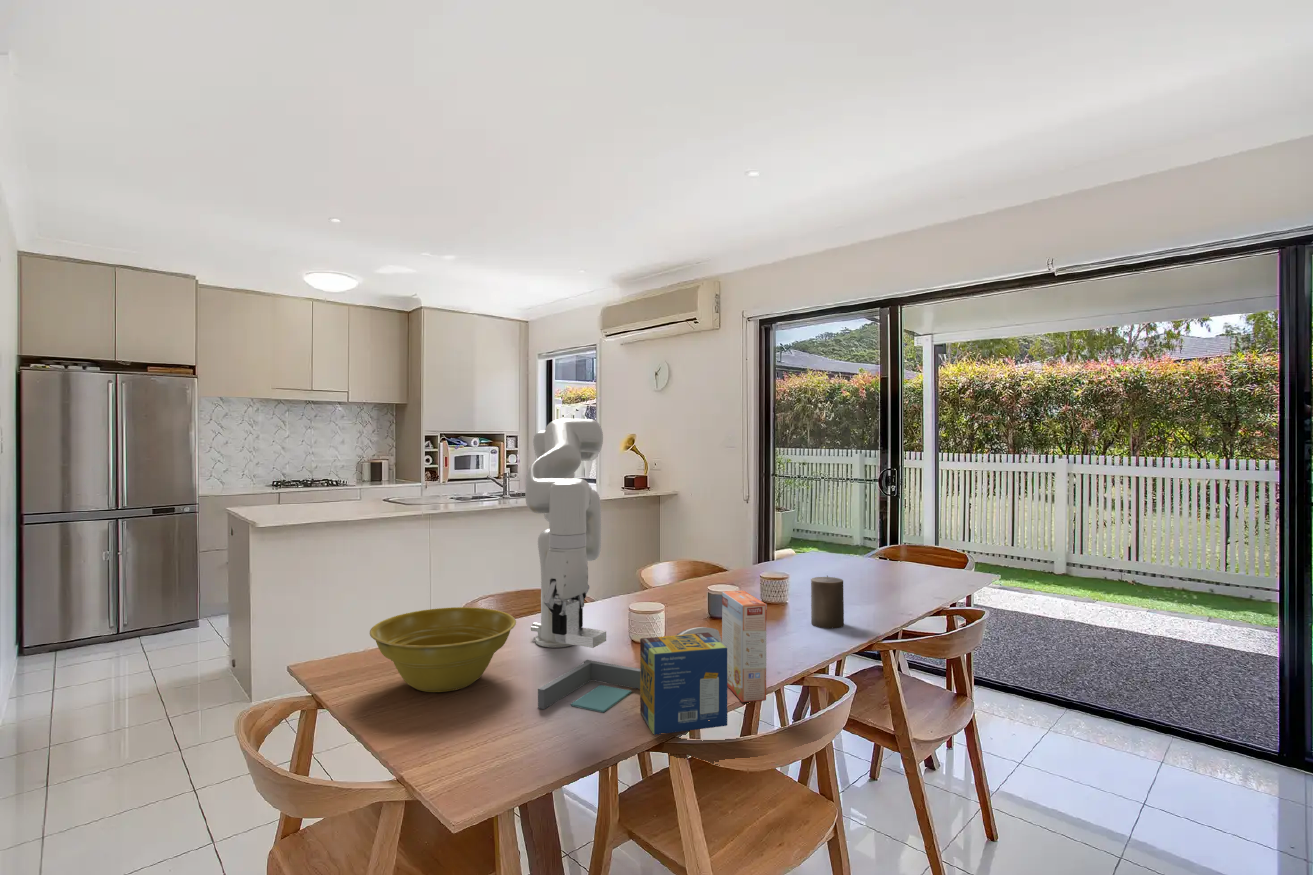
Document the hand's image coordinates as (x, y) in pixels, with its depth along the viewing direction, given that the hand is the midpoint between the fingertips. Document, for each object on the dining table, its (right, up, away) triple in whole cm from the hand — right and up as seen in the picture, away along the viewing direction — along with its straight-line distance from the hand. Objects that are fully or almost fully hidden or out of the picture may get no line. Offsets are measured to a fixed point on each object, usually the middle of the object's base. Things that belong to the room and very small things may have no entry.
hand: (567, 629), depth 134 cm
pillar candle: (+70, -18, +65) cm, 97 cm away
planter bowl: (-31, -17, +17) cm, 39 cm away
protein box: (+24, -17, -4) cm, 29 cm away
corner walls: (+7, -17, +7) cm, 19 cm away
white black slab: (+28, -18, +29) cm, 44 cm away
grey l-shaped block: (+3, -2, -1) cm, 4 cm away
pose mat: (+7, -17, +7) cm, 19 cm away
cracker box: (+38, -17, +12) cm, 43 cm away
